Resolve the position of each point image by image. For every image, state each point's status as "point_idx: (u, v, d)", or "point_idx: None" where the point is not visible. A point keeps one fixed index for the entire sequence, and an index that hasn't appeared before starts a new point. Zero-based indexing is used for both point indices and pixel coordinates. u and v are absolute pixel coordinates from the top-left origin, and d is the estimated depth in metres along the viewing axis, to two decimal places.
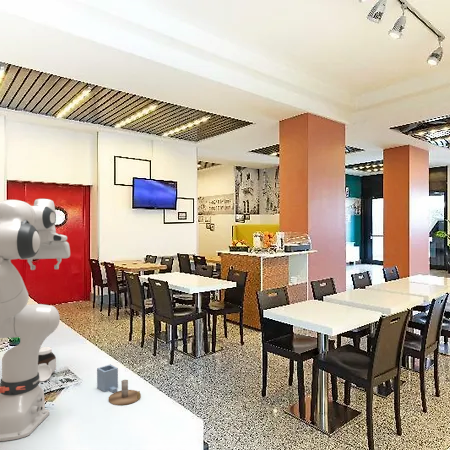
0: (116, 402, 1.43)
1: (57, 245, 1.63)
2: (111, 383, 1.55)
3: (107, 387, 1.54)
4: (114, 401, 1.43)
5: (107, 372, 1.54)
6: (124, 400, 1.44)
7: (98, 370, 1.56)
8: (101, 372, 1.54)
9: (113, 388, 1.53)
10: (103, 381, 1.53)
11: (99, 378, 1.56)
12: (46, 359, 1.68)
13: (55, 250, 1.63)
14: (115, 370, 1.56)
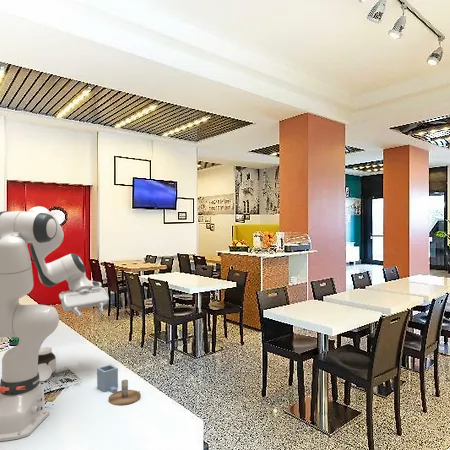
0: (116, 402, 1.43)
1: (96, 290, 1.74)
2: (111, 383, 1.55)
3: (107, 387, 1.54)
4: (114, 401, 1.43)
5: (107, 372, 1.54)
6: (124, 400, 1.44)
7: (98, 370, 1.56)
8: (101, 372, 1.54)
9: (113, 388, 1.53)
10: (103, 381, 1.53)
11: (99, 378, 1.56)
12: (46, 359, 1.68)
13: (96, 295, 1.72)
14: (115, 370, 1.56)
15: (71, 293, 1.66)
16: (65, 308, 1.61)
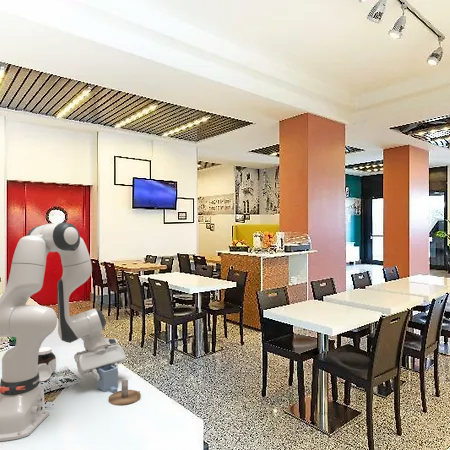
0: (116, 402, 1.43)
1: (113, 349, 1.65)
2: (111, 383, 1.55)
3: (107, 387, 1.54)
4: (114, 401, 1.43)
5: (107, 372, 1.54)
6: (124, 400, 1.44)
7: (98, 370, 1.56)
8: (101, 372, 1.54)
9: (113, 388, 1.53)
10: (103, 381, 1.53)
11: None
12: (46, 359, 1.68)
13: (113, 354, 1.63)
14: (115, 370, 1.56)
15: (87, 354, 1.57)
16: (81, 372, 1.52)
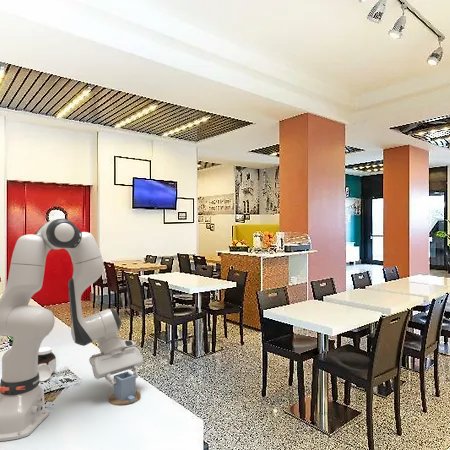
0: (116, 402, 1.43)
1: (129, 351, 1.55)
2: (129, 392, 1.46)
3: (124, 396, 1.44)
4: (114, 401, 1.43)
5: (124, 380, 1.44)
6: None
7: (115, 378, 1.47)
8: (118, 380, 1.45)
9: (131, 397, 1.44)
10: (120, 390, 1.44)
11: (116, 386, 1.46)
12: (46, 359, 1.68)
13: (130, 357, 1.54)
14: (133, 378, 1.47)
15: (103, 357, 1.48)
16: (97, 376, 1.43)
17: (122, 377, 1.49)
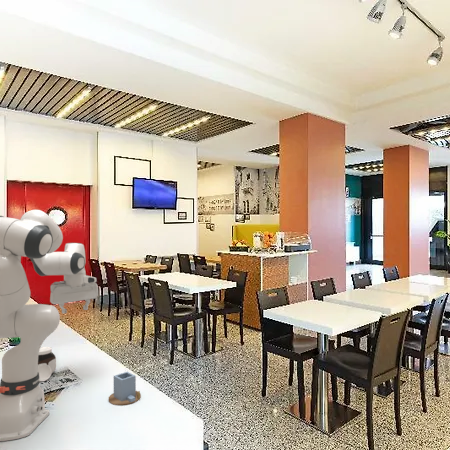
0: (116, 402, 1.43)
1: (89, 286, 1.70)
2: (129, 392, 1.46)
3: (124, 396, 1.44)
4: (114, 401, 1.43)
5: (124, 380, 1.44)
6: None
7: (115, 378, 1.47)
8: (118, 380, 1.45)
9: (131, 397, 1.44)
10: (120, 390, 1.44)
11: (116, 386, 1.46)
12: (46, 359, 1.68)
13: (87, 292, 1.69)
14: (133, 378, 1.47)
15: (63, 288, 1.62)
16: (52, 303, 1.60)
17: (122, 377, 1.49)
